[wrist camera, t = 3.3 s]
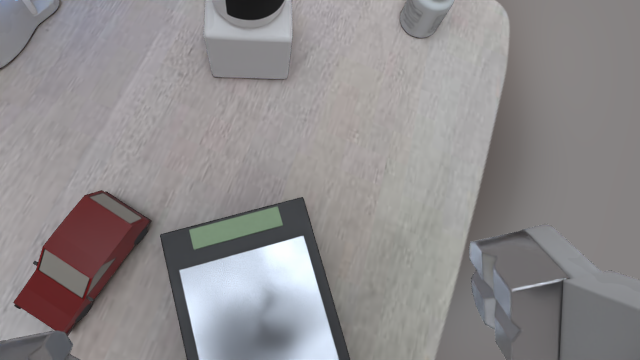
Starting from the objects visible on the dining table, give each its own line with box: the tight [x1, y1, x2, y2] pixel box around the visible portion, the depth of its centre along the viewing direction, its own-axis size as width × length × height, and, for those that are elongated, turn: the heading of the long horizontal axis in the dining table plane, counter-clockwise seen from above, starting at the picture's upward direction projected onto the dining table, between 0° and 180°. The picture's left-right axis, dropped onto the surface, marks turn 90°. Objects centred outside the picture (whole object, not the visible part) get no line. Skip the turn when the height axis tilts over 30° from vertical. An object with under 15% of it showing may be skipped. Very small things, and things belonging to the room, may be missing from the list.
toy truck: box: [13, 190, 151, 336], centre depth 38 cm, size 6×12×5 cm, turn 148°
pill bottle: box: [400, 0, 454, 38], centre depth 48 cm, size 4×4×8 cm
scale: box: [160, 197, 350, 360], centre depth 40 cm, size 15×13×3 cm
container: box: [204, 0, 292, 79], centre depth 42 cm, size 8×8×13 cm
